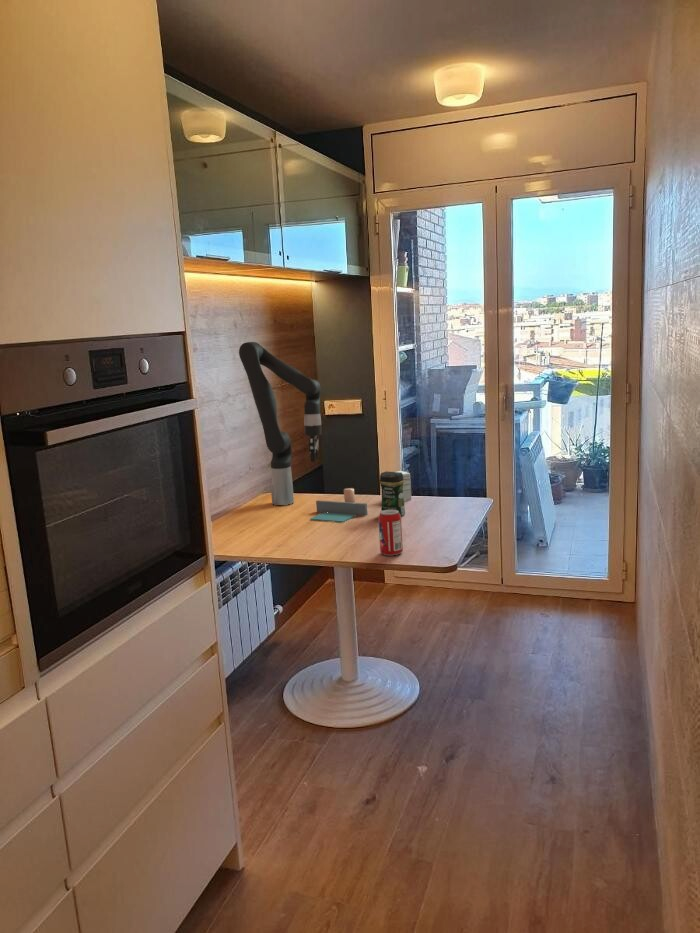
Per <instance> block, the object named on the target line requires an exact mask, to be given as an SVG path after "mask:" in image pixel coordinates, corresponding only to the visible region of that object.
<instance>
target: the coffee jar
mask: <svg viewBox="0 0 700 933" xmlns="http://www.w3.org/2000/svg"><path fill="white" fill-rule="evenodd" d="M403 483H404V479H403V474H402V473H400V472H397V471H388V470H387V471H383V472H381V473H380V474H379V484H380V488H381V509H380V512H381V511H383V510H390V509H392V510H398V511H399V514H400V515H401V518H403V516H404V515H405V514H406V508H405V502H404V498H403Z"/></svg>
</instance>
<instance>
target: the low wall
mask: <svg viewBox="0 0 700 933" xmlns="http://www.w3.org/2000/svg"><path fill="white" fill-rule="evenodd" d="M315 504H316V507H315V508H316V513H320V512H328V513H341V514H355V515H356V516H361V515H363V516H365V517H367V516H368V503H367V502H366V503H365V502H355V503H353V502H345V501H337V500H336V501H335V500H319V499H317V500H316V502H315ZM363 516H362V517H363Z"/></svg>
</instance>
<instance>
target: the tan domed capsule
mask: <svg viewBox="0 0 700 933" xmlns="http://www.w3.org/2000/svg"><path fill="white" fill-rule="evenodd" d="M343 497H344V498H343V500H344V501H343V502H353V503H356V500H355V498H356V496H355V488H354V487H349V488H348V487H346V488H344V489H343Z"/></svg>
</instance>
